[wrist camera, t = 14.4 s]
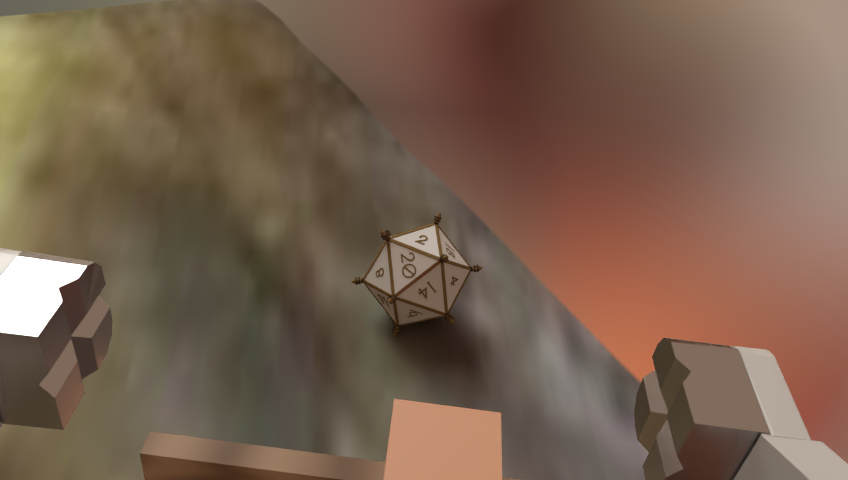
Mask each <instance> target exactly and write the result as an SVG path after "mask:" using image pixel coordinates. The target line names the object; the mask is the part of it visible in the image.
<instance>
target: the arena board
mask: <svg viewBox="0 0 848 480" xmlns="http://www.w3.org/2000/svg"><path fill="white" fill-rule="evenodd" d="M140 456H141V462H142V467H143V472H144V478H145V480H383V477H384V470H385V462H380V461H373V460H365V459H357V458H350V457H342V456H334V455H327V454H319V453H311V452H304V451H296V450H288V449H281V448H273V447H265V446H258V445H250V444H242V443H235V442H227V441H219V440H212V439H204V438H196V437H188V436H181V435H173V434H165V433H158V432H149V434H148V437H147V439H146V441H145V443H144V446H143V448H142V450H141V452H140ZM502 480H519V479H511V478H503V477H502Z"/></svg>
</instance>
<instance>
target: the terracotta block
mask: <svg viewBox="0 0 848 480" xmlns="http://www.w3.org/2000/svg"><path fill="white" fill-rule="evenodd" d="M383 480H502V446H501V413H498V412H490V411H483V410H475V409H468V408H460V407H453V406H445V405H437V404H430V403H422V402H415V401H407V400H400V399H394V405H393V412H392V419H391V426H390V434H389V441H388V448H387V455H386V462H385V470H384V477H383Z"/></svg>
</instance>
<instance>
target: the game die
mask: <svg viewBox="0 0 848 480" xmlns="http://www.w3.org/2000/svg"><path fill="white" fill-rule="evenodd" d="M441 219H442V218H441V214H440V213H439V214H438V215H436V216H435V219H434V223H433V224H429V225H426V226H423V227H419V228H416V229H412V230H409V231H405V232H402V233H399V234H395V235H392V236H391V235H390V234H391V233H389V231H388V230H383V231H381V238H383V240H386V241H385V242H384V244H383V246H382V247H381V249H380V251H379V252H378V254H377V256H376V257H375V259H374V261H373V262H372V264H371V266H370V267H369V269H368V271H367V272H366V274H365V276H364V277H363V278H355V279H354V280H353V281H351V282H352V283H355V284H356V285H357V284H360V283H364V284H365V285H366V287H367V288H368V289H369V290H370V292H371V293H372V294H373V296H374V297H375V298H376V299H377V301H378V302H379V303H380V305H381V306H382V307H383V308H384V310H385V311H386V312H387V313H388V315H389V316H390V317H391V319H392V320H393V321H394V322H395V324H396V326H395V327H394V330H393V334H394V336H396V335H397V334H398V333H399V331H400V326H403V325H408V324H412V323H417V322H421V321H426V320H431V319H435V318H440V317H444V316H445V317H446V320H447V322H448V323H452V324H454V322H453V320H454V317H452V315H450V310H451V308H452V307H453V305H454V303H455V301H456V299H457V297H458V295H459V293H460V291H461V289H462V287H463V286H464V284H465V282H466V280H467V278H468V276H469V274H470V272H471V271H474V272H477V271H479V270H481V269H482V268H483V267H480V266H478V265H477V266H475V265H474V266H472V267H470V266H469V264H468V263H467V262H466V261H465V259H464V258H463V257H462V255H461V254H460V253H459V251H458V250H457V249H456V248H455V246H454V245H453V244H452V242H451V241H450V240H449V238H448V237H447V236H446V235H445V233H444V232H443V231H442V229H441V228H440V227H439V226H438V223H439V222H440V220H441Z"/></svg>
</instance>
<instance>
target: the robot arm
mask: <svg viewBox="0 0 848 480" xmlns="http://www.w3.org/2000/svg"><path fill="white" fill-rule="evenodd" d="M105 284H106V283H105V279H104V275H103V271H102V266H100V265H99V264H97V263H95V262H91V261H84V260H78V259H72V258H65V257H59V256H52V255H46V254H40V253H33V252H22V251H15V250H9V249H3V248H0V428H1V427H2V425H1V424H11V425H21V426H31V427H41V428H50V429H60V430H64V428H65V426H66V425H67V423H68V421H69V419H70V418H71V416H72V414H73V412H74V411H75V409H76V407H77V406H78V404H79V402H80V400H81V399H82V397H83V395H84V393H85V392H84V388H83V384H82V379H83V378H85V377H86V376H88V375H90V374H91V373H93V372H95V371H96V370H98V369H99V367H100V365H101V363H102V361H103V360H104V358H105V356H106V354H107V351H108V347H109V343H110V340H111V336H112V315H111V310H110V307H109V306H108V304H107V303H106V302H105V301H104V300H103V299H102V298H101V297H100V296H99V294H100V292H101V291H102V289H103V287H104V286H105ZM652 357H653V361H654V366H655V371H653V372H651V373H650V374H648V375H647V376H645V377H643V379H642V382H641V385H640V387H639V390H638V392H637V397H636V404H635V411H634V413H635V428H636V434H637V439H638V441H639V442H640V443H641V444H642V445H643V446H644V447H645V449H646V450H647V451H648V452H649V454H648V456H647V458H646V460H645V463H644V465H643V469H644V474H645V479H646V480H848V464H847V463H846V462H845V461H843V460H842V459H841V458H840V457H839V456H838V455H836V454H835V453H834V452H833V451H832V450H831V449H830V448H828V447H827V446H826V445H825V444H824V443H823V442H818V441H812V440H811V438H810V436H809V434H808V432H807V429H806V427H805V425H804V423H803V420H802V418H801V416H800V413H799V411H798V409H797V407H796V404H795V402H794V400H793V398H792V395H791V393H790V391H789V389H788V386H787V384H786V382H785V380H784V377H783V375H782V373H781V371H780V368H779V366H778V364H777V361H776V359H775V357H774V355H773V354H772V353H770V352H769V351H768V350H762V349H755V348H746V347H737V346H732V347H730V346H725V345H717V344H710V343H702V342H693V341H685V340H677V339H670V338H663V339H662V340H661V341H660V342H659V343H658V345H657V347H656V349H655V352H654V354H653V356H652Z"/></svg>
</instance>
